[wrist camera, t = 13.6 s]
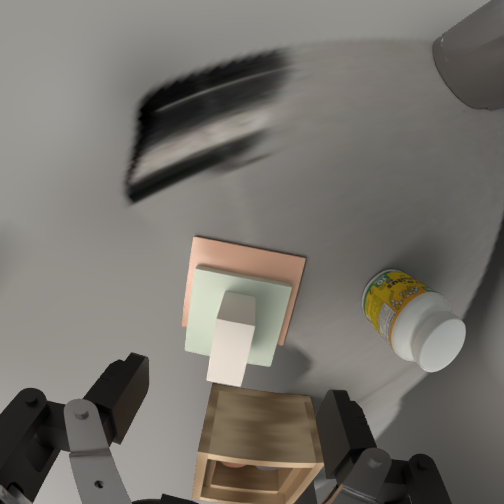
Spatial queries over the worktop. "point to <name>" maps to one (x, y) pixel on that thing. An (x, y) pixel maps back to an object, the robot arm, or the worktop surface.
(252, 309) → the lid
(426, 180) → the worktop surface
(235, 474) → the crate
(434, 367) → the supplement bottle
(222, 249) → the plate
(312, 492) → the bottle
